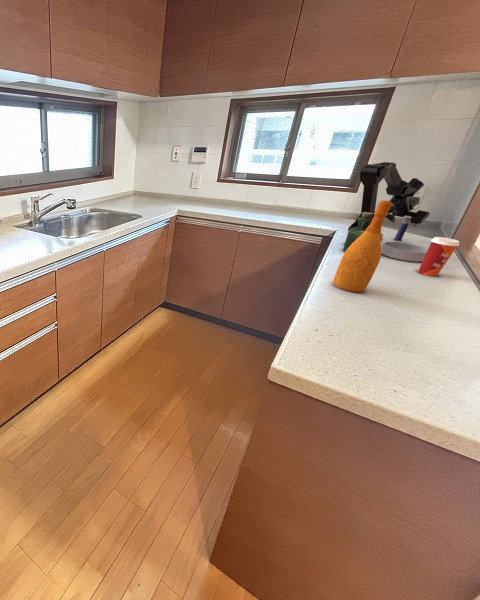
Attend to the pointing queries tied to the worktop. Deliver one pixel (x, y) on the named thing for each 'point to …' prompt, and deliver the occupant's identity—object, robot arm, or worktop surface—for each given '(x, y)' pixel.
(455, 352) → the worktop surface
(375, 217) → the wine bottle
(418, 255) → the dish
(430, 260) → the paper cup
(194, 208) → the worktop surface
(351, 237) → the potion bottle
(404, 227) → the rod
